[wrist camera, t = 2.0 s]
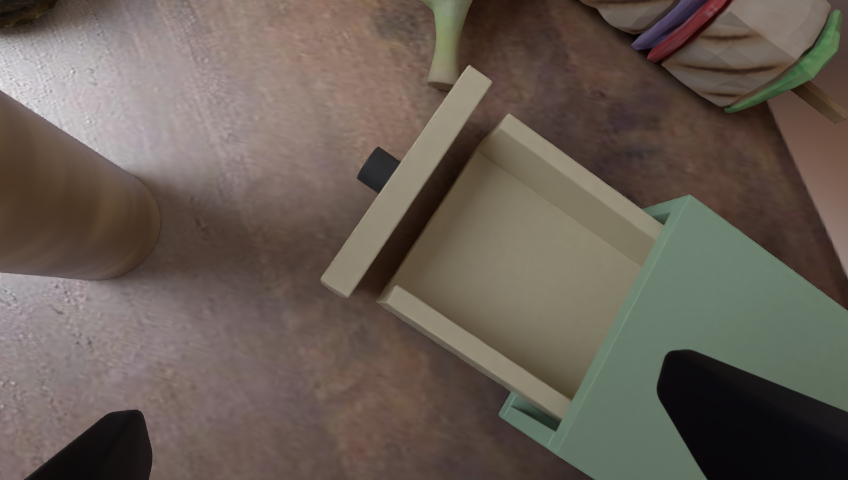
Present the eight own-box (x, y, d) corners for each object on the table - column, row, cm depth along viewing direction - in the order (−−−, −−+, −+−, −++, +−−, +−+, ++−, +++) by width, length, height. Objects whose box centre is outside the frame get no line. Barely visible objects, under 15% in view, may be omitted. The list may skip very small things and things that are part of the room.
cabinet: (497, 415, 22) (555, 454, 17) (606, 218, 25) (690, 193, 19) (745, 576, 24) (878, 663, 18) (826, 376, 26) (965, 397, 21)
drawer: (297, 268, 21) (290, 260, 17) (423, 90, 23) (444, 45, 19) (583, 455, 22) (641, 490, 18) (675, 271, 24) (746, 265, 20)
